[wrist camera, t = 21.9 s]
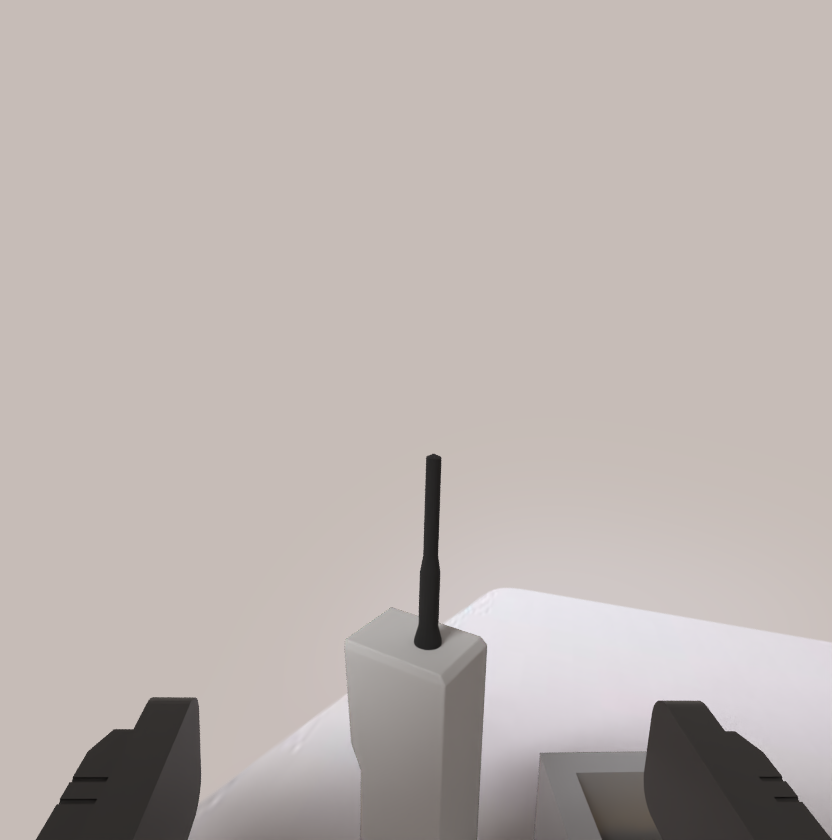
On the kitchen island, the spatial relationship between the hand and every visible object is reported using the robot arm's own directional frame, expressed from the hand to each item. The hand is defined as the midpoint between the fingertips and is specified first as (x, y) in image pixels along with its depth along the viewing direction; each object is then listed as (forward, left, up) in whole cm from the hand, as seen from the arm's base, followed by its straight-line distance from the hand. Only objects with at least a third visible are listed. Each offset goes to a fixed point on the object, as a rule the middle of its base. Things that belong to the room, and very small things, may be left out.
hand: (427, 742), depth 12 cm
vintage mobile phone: (+1, +16, -24) cm, 29 cm away
